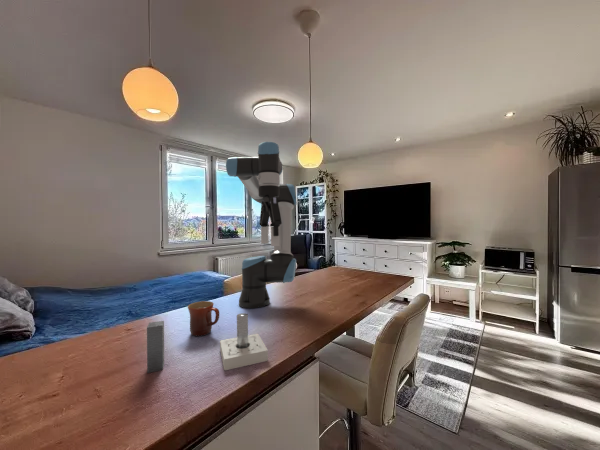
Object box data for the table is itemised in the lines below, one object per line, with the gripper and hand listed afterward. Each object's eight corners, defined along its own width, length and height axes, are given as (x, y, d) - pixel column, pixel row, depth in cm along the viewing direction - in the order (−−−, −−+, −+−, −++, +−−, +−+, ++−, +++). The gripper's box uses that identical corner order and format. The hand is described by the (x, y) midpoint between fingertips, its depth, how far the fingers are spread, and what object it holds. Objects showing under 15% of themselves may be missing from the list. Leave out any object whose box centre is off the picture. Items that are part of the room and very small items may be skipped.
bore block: (220, 350, 77) (220, 340, 77) (258, 342, 82) (258, 333, 82) (224, 370, 66) (224, 359, 66) (267, 360, 71) (267, 350, 71)
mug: (182, 336, 87) (181, 307, 87) (199, 326, 96) (199, 300, 96) (210, 341, 83) (210, 310, 83) (226, 330, 92) (225, 303, 92)
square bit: (149, 366, 69) (149, 322, 69) (164, 363, 70) (163, 320, 70) (147, 373, 65) (146, 327, 66) (162, 369, 67) (162, 325, 67)
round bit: (236, 354, 75) (236, 314, 75) (247, 351, 76) (246, 312, 76) (238, 359, 72) (237, 317, 72) (249, 356, 73) (248, 316, 73)
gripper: (251, 190, 100) (252, 243, 100) (268, 179, 77) (269, 247, 77) (269, 191, 103) (270, 242, 103) (290, 180, 80) (291, 246, 80)
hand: (269, 244), depth 90 cm, fingers open, 13 cm apart
